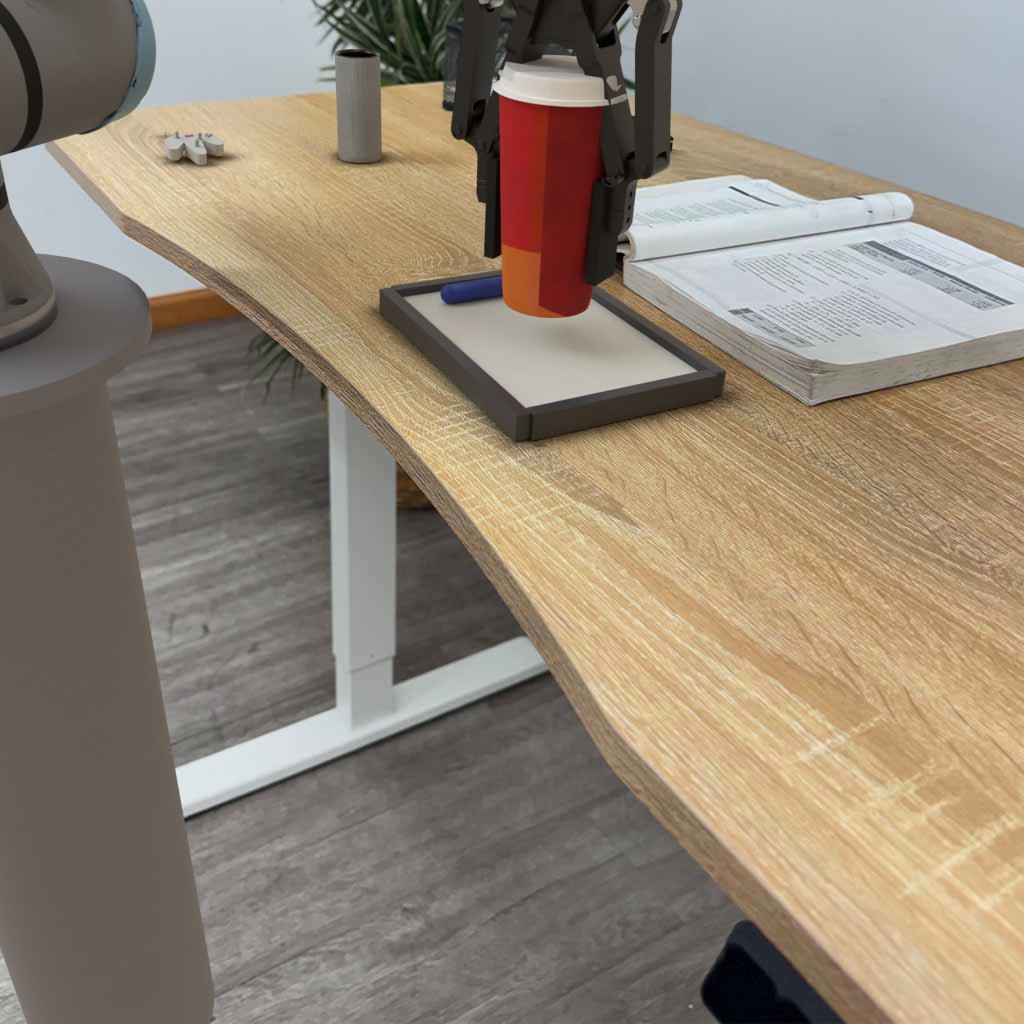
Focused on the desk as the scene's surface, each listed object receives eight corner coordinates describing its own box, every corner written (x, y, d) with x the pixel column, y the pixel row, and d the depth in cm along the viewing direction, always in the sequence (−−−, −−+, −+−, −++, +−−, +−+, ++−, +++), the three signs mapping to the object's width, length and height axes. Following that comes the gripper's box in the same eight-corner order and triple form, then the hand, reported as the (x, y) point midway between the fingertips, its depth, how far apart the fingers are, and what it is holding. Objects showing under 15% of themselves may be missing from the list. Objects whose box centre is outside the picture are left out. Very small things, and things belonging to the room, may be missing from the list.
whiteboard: (377, 310, 79) (377, 276, 77) (558, 282, 85) (561, 250, 84) (517, 444, 63) (520, 405, 62) (725, 397, 70) (731, 361, 68)
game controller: (187, 169, 105) (184, 142, 104) (120, 146, 111) (115, 120, 110) (233, 158, 109) (231, 132, 108) (166, 137, 115) (162, 111, 113)
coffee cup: (615, 287, 75) (639, 60, 66) (596, 332, 68) (621, 86, 60) (499, 272, 76) (509, 47, 68) (470, 315, 69) (477, 71, 61)
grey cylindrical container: (348, 165, 109) (345, 58, 104) (331, 153, 112) (327, 49, 107) (388, 161, 111) (387, 56, 106) (371, 150, 114) (369, 47, 109)
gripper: (774, -125, 57) (709, 284, 69) (462, -150, 65) (455, 220, 77) (720, -123, 51) (660, 320, 64) (388, -150, 59) (393, 247, 72)
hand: (548, 264), depth 71 cm, fingers closed on coffee cup, 7 cm apart
